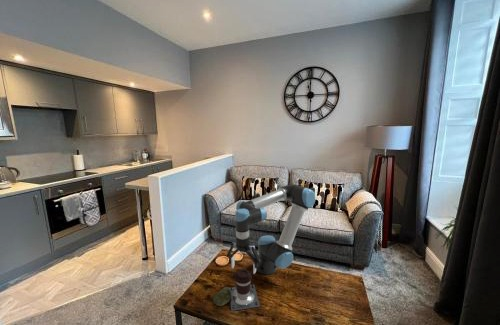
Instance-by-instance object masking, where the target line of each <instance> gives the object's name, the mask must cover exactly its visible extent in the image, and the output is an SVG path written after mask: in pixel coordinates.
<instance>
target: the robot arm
mask: <svg viewBox="0 0 500 325" xmlns="http://www.w3.org/2000/svg"><path fill="white" fill-rule="evenodd" d="M281 201H282V202H283V201H291V209H290V212H289V214H288V216H287V219H286V221H285V225H284V227H283V230H282V231H281V235H280V237H279V240H276V238H275V237H274V236H273V235H262V236H261V237H259V238H258V241H257V244H258V246H257V248H258V251H257V249H256V245H255V244H253V245H250V242H251V241H250V226H251V225H254V224H256V223H257V224H258V223H259V222H262V221H265V220H267V219H268V212H267V209H266V207H269V206H270V205H273V204H275V203H277V202H281ZM315 202H316V194H315V192H314V191H313V189H310V188H309V187H304V186H301V185H299V184H298V185H297V184H288V185H283V186H281V187H279V188H277V189H276V190H274V191H271V192H268V193H266V194H263V195H260V196H258V197H256V198H252V199H250V200H247V201H244V200H240V201H238V202H237V203H236V205H235V207H236V211H235V214H234V215H235V217H234V220H235V236H236V237H235V240H236V241H234V240H233V241H232V242H231V244H230V248H229V249H228V252H227V253H226V257H228V258H229V262H230V263H231V264H230V265H231V266H230V267H231V269H234V267H235V264H236V263H235V255H236V254H237V253H238V252H240V253H246V255H247V256H249V258H250V259H251V260H252V261H253V263H252V265H253V266H252V267H253V268H252V270H253V271H252V272H253V275H255V274H256V272H259V273H260V274H263V275H272V274H274V273H276V271H277V269H278V268H279V269H286V268H288V267H289V266H291V264H292V262H293V260H294V254H293V253H292V251H293V246H292V245H293V242H294V239H295V237H296V234H297V232H298V229H299V227H300V224H301V222H302V220H303V219H302V218H303V216H304V214H305V212H306V211H307V212H308V210H309V208H312V207H313V206H314V205H315ZM235 246H236V249H235V250H234V251H233V249H234V248H235ZM232 251H233V252H232Z"/></svg>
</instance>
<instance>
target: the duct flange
mask: <svg viewBox="0 0 500 325" xmlns="http://www.w3.org/2000/svg"><path fill="white" fill-rule="evenodd" d="M228 288H229V290H231V297H230V301H229V303H230V310H231V312H233V311H241V310H246V309H254V308H260V302H259V297H258V292H257V290H256V286H255V284H251V286H250V295H249V298H248V299H246V300H241V299H239V298H238V296H237V290H236V286H233V287H232V286H231V287H228Z"/></svg>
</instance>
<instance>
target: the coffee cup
mask: <svg viewBox="0 0 500 325" xmlns="http://www.w3.org/2000/svg"><path fill="white" fill-rule="evenodd" d="M252 276H253V275H252V273H251V271H249V270H247V269H245V268H241V269H240V270H238V271H237V272H235V274H234V280H235V287H236V290H237V296H238V298H239V299H241V300H246V299H248V298H249V295H250V286H251V285H252V284H251V283H252V278H253V277H252Z"/></svg>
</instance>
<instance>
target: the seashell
mask: <svg viewBox="0 0 500 325" xmlns="http://www.w3.org/2000/svg"><path fill="white" fill-rule="evenodd" d="M229 288H230V287H228V286H225V287H223V288H222V289H220V290H219V291H217V292H215V294H214V296H213V298H212V303H213V304H214V305H216V306H218V307H222V306H224V305H226V304H228V303H230V297H231V290H229Z"/></svg>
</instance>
